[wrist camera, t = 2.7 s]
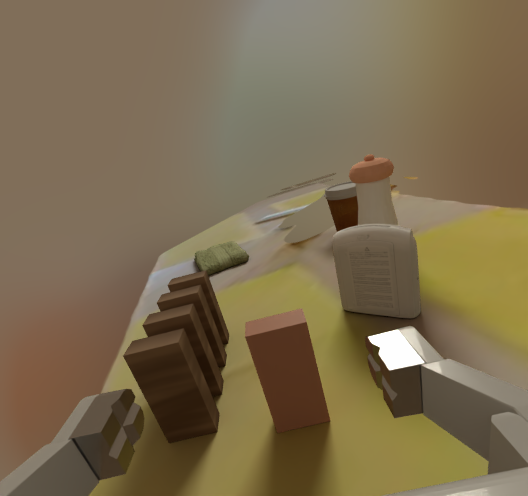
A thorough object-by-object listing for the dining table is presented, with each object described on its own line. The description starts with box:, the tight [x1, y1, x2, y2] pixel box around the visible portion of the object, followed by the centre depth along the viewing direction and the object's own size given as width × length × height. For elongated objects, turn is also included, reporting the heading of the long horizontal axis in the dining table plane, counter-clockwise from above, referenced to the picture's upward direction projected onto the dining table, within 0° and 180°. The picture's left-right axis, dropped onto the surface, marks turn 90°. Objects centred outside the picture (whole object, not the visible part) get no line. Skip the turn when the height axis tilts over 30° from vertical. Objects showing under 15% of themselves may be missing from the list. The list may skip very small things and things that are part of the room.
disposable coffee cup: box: [324, 181, 358, 232], centre depth 66 cm, size 10×10×12 cm
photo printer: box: [332, 224, 421, 318], centre depth 37 cm, size 10×4×12 cm, turn 58°
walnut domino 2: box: [157, 285, 227, 367], centre depth 35 cm, size 2×5×11 cm, turn 92°
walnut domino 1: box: [168, 270, 229, 344], centre depth 39 cm, size 2×5×11 cm, turn 93°
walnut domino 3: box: [143, 304, 224, 397], centre depth 31 cm, size 2×5×11 cm, turn 93°
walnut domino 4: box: [123, 328, 219, 443], centre depth 26 cm, size 2×5×11 cm, turn 92°
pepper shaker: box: [349, 154, 398, 226], centre depth 49 cm, size 7×7×19 cm
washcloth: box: [194, 241, 249, 275], centre depth 75 cm, size 13×18×3 cm
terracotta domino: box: [245, 309, 330, 433], centre depth 25 cm, size 2×5×11 cm, turn 93°
